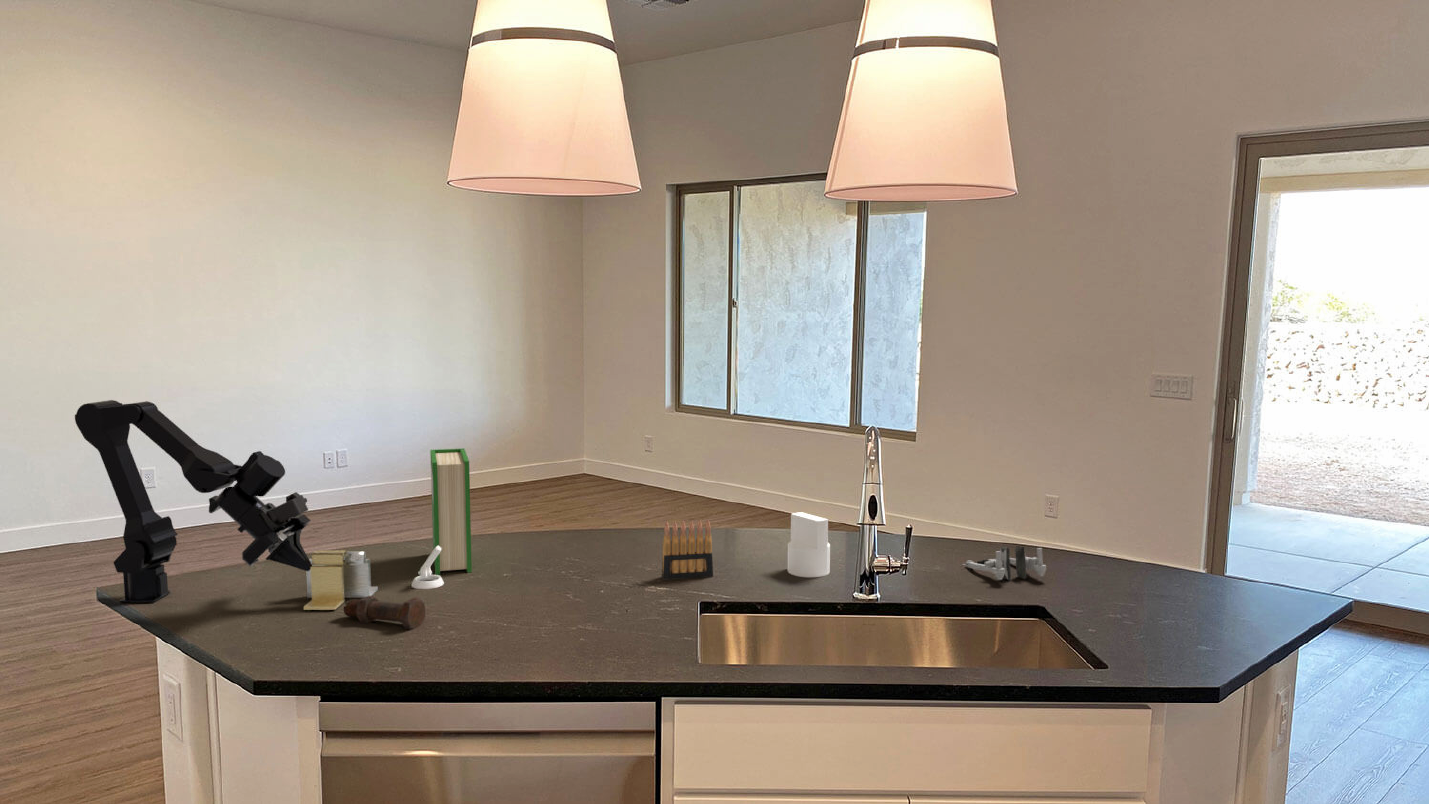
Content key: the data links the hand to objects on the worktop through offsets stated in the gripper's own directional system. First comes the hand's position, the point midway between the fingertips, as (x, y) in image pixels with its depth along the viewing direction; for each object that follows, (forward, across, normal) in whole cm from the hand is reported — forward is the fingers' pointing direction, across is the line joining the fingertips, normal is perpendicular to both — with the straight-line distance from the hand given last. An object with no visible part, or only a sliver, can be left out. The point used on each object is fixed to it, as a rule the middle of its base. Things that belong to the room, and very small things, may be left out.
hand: (310, 569), depth 187 cm
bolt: (+17, -10, -7) cm, 21 cm away
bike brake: (+103, +22, -93) cm, 141 cm away
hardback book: (+19, +29, -9) cm, 35 cm away
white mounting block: (+7, +5, +2) cm, 9 cm away
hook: (+18, +13, -8) cm, 24 cm away
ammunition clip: (+56, +18, -46) cm, 74 cm away
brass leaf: (+7, -1, +2) cm, 7 cm away
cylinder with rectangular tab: (+74, +22, -64) cm, 100 cm away
